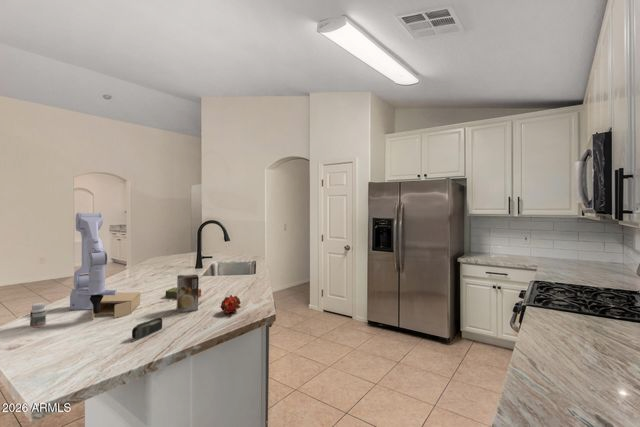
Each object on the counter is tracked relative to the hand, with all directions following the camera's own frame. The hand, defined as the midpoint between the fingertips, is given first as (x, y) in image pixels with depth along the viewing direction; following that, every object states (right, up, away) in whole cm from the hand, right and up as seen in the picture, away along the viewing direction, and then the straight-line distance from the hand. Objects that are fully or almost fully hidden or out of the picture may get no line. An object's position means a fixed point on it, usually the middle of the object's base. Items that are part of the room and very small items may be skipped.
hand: (96, 313), depth 136 cm
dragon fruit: (+52, -5, +16) cm, 55 cm away
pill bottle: (-17, -2, -9) cm, 19 cm away
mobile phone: (+28, -5, -13) cm, 31 cm away
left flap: (-2, -2, +1) cm, 3 cm away
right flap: (+8, -3, +5) cm, 10 cm away
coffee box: (+31, -4, +18) cm, 36 cm away
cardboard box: (+1, -3, +14) cm, 14 cm away
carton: (+21, -4, +38) cm, 44 cm away
